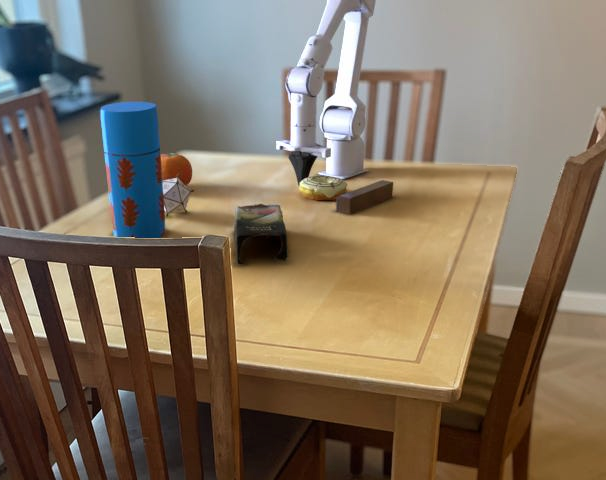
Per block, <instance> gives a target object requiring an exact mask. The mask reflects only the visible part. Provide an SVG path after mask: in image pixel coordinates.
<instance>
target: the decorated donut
mask: <svg viewBox="0 0 606 480" xmlns="http://www.w3.org/2000/svg"><path fill="white" fill-rule="evenodd" d="M298 186H299V187H298V189H299V191H300V193H301V195H302V196H303V197H304V198H307V199H309V200H315V201H330V200H331V201H335V200H337V197H339V196H340V195H343V194H346V193H348V192H347V188H348V183H347V182H346V181H345V179H340V178H336V177H331V176H324V175H312V176H309V177H308V178H305V179H303V180H302V181H301V182H300V185H298Z"/></svg>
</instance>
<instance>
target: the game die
mask: <svg viewBox="0 0 606 480" xmlns="http://www.w3.org/2000/svg"><path fill="white" fill-rule="evenodd" d="M178 177H179V174H178V175H177V178H172V179H167V180H162V182H163V196H164V210H165V219H166V218H168V217H169V214H174V213H178V212H183V211H184V212H185V213H186V214H188V210H187V207H188V206H187V205H188V202H189V200H190V196H191V194H192V193H194V192H195V189H190V188H189V187H188V185H187V186H186V185H185V184H184V183H183V182H182V181H181V180H180V179H179V178H178ZM185 213H184V214H185Z"/></svg>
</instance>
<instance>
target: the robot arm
mask: <svg viewBox="0 0 606 480" xmlns="http://www.w3.org/2000/svg"><path fill="white" fill-rule="evenodd" d="M376 1H377V0H326V5H325V8H324V11H323V13H322V17H321V19H320V23H319V26H318V28H317V31H316V34H315V35H312V36H310V37H309V38H308V40H307V42H306V45H305V47H304V48H303V51H302V54H301V56H300V58H299V60H298V63H297V65H296V66H294V67H293V68H292V69H290V70H289V72H288V73H287V75H286V81H285V82H284V83H285V89H286V92H287V95H288V102H289V103H290V140H288V139H279V140H276V150H278V151H281V150H283V151H290V152H291V153H290V154H289V155H288V160H289V162H290V163H291V165H292V168H293V171H294V175H295V176H296V182H297V185H298V186H299V185H300V182H301V181H302V180H303V179H305V178H308V177H310V174H311V171H312V168H313V166H314V164H315V163H316V160H317V159H318V157H322V158H323V159H325V170H322V171H319V172H318V176H331V177H336V178H340V179H342V180H346V179H349V178H352V177H355V176H357V175H360V174H363V173H366V172H367V169H364V162H365V143H364V140H363V138H362V137H361V135H362V134H363V133H364V131H365V128H366V123H367V121H366V107H367V106H366V105H365V103H364V102H363V101H362V100H361V99H360V97H358V90H359V83H360V77H361V70H362V64H363V59H364V54H365V53H364V52H365V46H366V42H367V41H366V40H367V35H368V34H367V33H368V29H369V28H368V27H369V21H370V18H371V17H373V16H374V12H375V7H376ZM343 20H344V22H345V26H344V32H343V39H342V46H341V51H340V58H339V64H338V65H339V66H338V70H337V71H338V72H337V78H336V86H335V92H334V94H333V95H331V96H330V97H329V98H327V100H325V101H324V107H323V110H322V112H321V114H320V118H319V128H320V130H321V132H322V133H323V134H324V136H323V138H326V146H325V145H322V144H320V143H317V114H318V112H317V110H318V95H319V94H320V93H321V91H322V89H323V86H324V77H325V71H324V70H325V68H326V66H327V63H328V61H329V59H330V56H331V54H332V52H333V44H332V39H333V38H334V36H335V35H336V32H337V30H338V29H339V27H340V25H341V24H342V21H343ZM346 108H347V109H346ZM348 108H350V109H348Z"/></svg>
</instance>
